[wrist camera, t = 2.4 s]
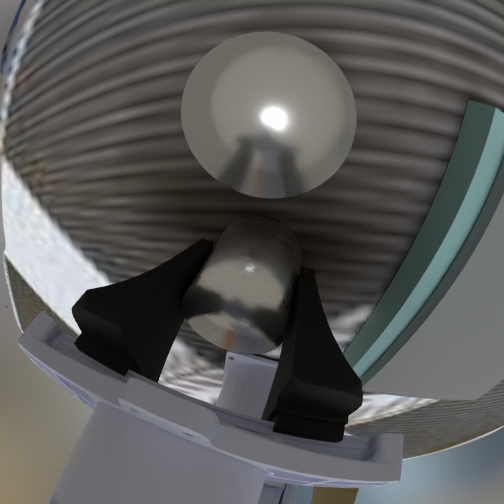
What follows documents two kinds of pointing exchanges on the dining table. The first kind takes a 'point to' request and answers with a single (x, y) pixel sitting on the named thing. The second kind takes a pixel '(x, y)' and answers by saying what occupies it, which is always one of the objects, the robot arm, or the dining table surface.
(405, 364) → the pan
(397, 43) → the dining table surface
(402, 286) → the scale
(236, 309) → the cylinder
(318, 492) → the squeeze bottle
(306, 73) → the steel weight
